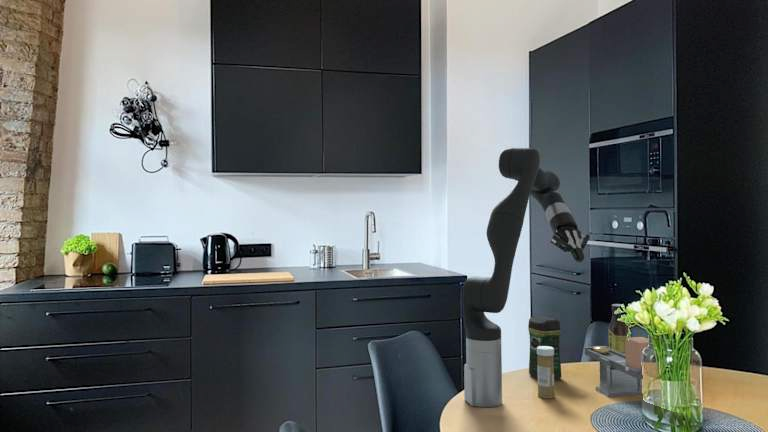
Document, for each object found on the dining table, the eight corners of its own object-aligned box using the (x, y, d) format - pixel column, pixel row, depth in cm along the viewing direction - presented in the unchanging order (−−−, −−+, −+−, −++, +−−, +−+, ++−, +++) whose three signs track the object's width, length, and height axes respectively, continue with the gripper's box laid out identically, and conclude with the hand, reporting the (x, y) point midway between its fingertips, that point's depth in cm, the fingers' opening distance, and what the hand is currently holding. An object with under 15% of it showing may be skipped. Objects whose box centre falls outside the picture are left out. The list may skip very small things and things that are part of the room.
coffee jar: (566, 380, 169) (565, 318, 169) (544, 383, 166) (543, 320, 166) (545, 372, 178) (544, 313, 178) (524, 374, 175) (523, 315, 175)
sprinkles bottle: (558, 397, 153) (557, 347, 153) (546, 400, 150) (546, 349, 151) (545, 392, 157) (544, 344, 157) (533, 395, 154) (533, 346, 154)
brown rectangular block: (639, 373, 144) (639, 342, 144) (625, 367, 150) (625, 337, 150) (657, 372, 145) (656, 341, 145) (642, 366, 151) (642, 336, 151)
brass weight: (598, 355, 164) (598, 349, 164) (590, 351, 168) (590, 346, 168) (612, 354, 165) (612, 348, 165) (603, 350, 169) (603, 345, 169)
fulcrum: (607, 396, 152) (607, 361, 152) (595, 390, 158) (595, 356, 158) (647, 394, 155) (647, 359, 155) (634, 387, 160) (634, 354, 160)
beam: (636, 380, 143) (636, 370, 143) (582, 355, 169) (582, 347, 169) (665, 378, 144) (665, 368, 144) (608, 353, 170) (608, 345, 170)
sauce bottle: (611, 361, 189) (611, 302, 189) (631, 364, 186) (630, 304, 186) (606, 365, 184) (605, 305, 184) (627, 368, 180) (626, 306, 180)
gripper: (545, 211, 178) (564, 252, 166) (583, 211, 180) (605, 251, 168) (537, 228, 183) (556, 268, 171) (575, 227, 185) (596, 267, 173)
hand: (580, 260), depth 170 cm, fingers closed
